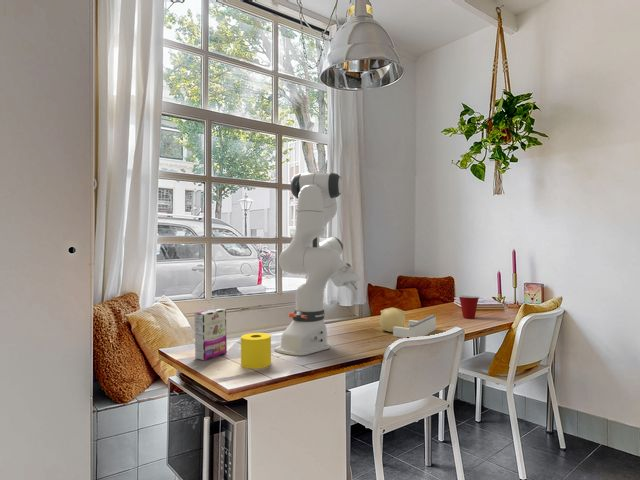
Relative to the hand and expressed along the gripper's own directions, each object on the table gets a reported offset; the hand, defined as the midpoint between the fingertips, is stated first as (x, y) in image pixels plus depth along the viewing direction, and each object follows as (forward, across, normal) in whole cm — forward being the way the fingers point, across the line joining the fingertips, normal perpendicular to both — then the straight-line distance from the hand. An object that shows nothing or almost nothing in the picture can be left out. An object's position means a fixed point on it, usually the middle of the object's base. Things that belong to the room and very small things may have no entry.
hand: (355, 290), depth 201 cm
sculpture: (+26, 0, -1) cm, 26 cm away
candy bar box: (-1, -74, +26) cm, 78 cm away
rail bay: (+33, 0, -8) cm, 34 cm away
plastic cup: (+41, +52, -16) cm, 68 cm away
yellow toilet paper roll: (+14, -72, +11) cm, 74 cm away
